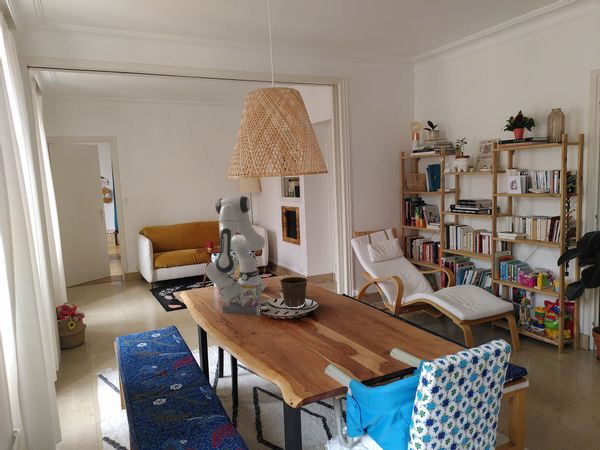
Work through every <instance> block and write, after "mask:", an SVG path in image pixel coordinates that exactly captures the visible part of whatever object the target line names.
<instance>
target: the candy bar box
mask: <svg viewBox="0 0 600 450" xmlns="http://www.w3.org/2000/svg"><path fill="white" fill-rule="evenodd" d="M261 293H262V292H260V284H248V283H243V284H241V285H240V302H241V306H245V307H257V306H261V303H262V296H261Z"/></svg>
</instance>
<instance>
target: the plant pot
mask: <svg viewBox="0 0 600 450" xmlns="http://www.w3.org/2000/svg"><path fill="white" fill-rule="evenodd" d="M308 281H309V280H308V278H306V277H301V276H290V277H285V278H284V277H283V278H281V279H280V280H279V282H280V285H281V290H282V296H283V302H284V303H283V304H285V305H286V306H288V307H298V306H301V305H303V304H304V303H305V304H306V297H307V296H306V295H307V293H306V292H307V286H308V283H307V282H308ZM285 305H284V306H285Z"/></svg>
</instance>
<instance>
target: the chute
mask: <svg viewBox="0 0 600 450" xmlns="http://www.w3.org/2000/svg"><path fill="white" fill-rule="evenodd" d="M268 302H269V301H268V300H264V301H262V302H261V306H267V305H268V304H269V303H268ZM228 304H229V305H225V304H222V305H221V308H222V313H226V314H227V313H228V314H240V315H254V316H255V315H256V316H261V315H262V311H261V312H260V311H259V310H261V306H257V307H245V306H241V304H239V303H238V302H236V301H235V300H232V301H230V302H229V303H228Z"/></svg>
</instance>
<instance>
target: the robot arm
mask: <svg viewBox="0 0 600 450" xmlns="http://www.w3.org/2000/svg"><path fill="white" fill-rule="evenodd" d="M250 210H251V201H250V199H249V197H247V196H243V195H241V196H231V197H224V198H223V197H222V198H219V199H217V200H216V202H215V212H216V213H217V214H218V215H219V217H218V218H219V219H218V231H219V250H218V251H219V252H218V253H219V254H218V257H217V259H216V260H215V261H212V262H210V263H209V264H208V265H206V268H205V269H204V270H205V271H204V272H205V275H206V276H207V278H208V279H209V280H210V281H211V282H212V283H213V284H215V286H216V288H217V289H218V294H219V296H220V298H221V299H222V300H223V301H224V303H226V304H229V302H230V301H236V302H238V303H239V304H241V302H240V285H241V284H243V283H248V284H260V292H261V293H262V292H263V291H265V289H266V288H267V284H264V281H263V278H262V277H260V276H259V273H260V270H259V269H257V261H256V258H255V257H254V256H252V255H251V254H250V253H249V252H250V251H251V252H252V251H253V252H255V251H256V252H257V251H260V250H263V248H264V247H265V245H266V240H265V238H264V236H262V235H261V234H259V233H258V232H257V231H256V230H255V229H254V226H252V222H251V220H250V216H249V211H250ZM237 233H239V234H237ZM231 251H233V252H234V254H235V255H236V257H237V258H238V263H239V274H238V275H239V278H238V279H237V278H230V277H229V276H230V275H231V274H233V273H234V272H236V270H237V268H238V264H237V261H236V260H235V259H234V258H232V255H231Z"/></svg>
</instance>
